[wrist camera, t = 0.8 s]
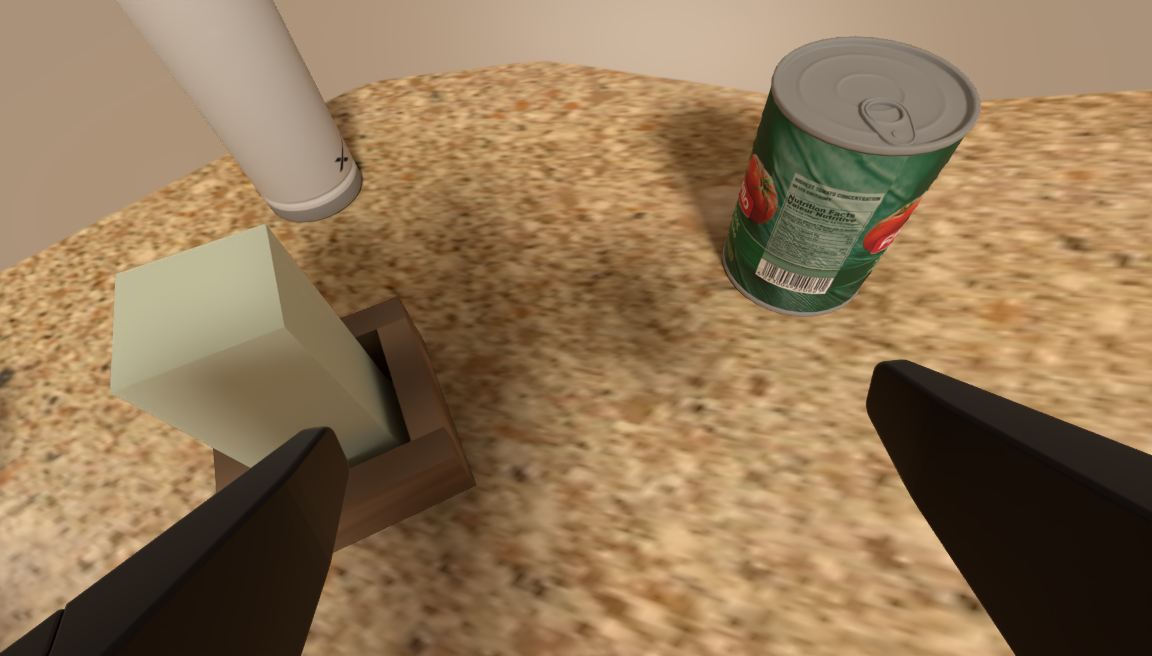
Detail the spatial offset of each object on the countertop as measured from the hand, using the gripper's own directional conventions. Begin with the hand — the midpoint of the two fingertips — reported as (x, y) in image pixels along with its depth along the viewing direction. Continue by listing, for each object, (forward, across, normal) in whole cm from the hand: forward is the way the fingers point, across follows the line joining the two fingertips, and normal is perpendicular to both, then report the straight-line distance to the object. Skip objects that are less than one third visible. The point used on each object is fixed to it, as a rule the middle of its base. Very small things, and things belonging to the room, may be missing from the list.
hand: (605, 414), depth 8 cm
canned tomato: (+20, -13, +8) cm, 25 cm away
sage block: (+13, +12, +11) cm, 20 cm away
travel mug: (+30, +17, +2) cm, 34 cm away
